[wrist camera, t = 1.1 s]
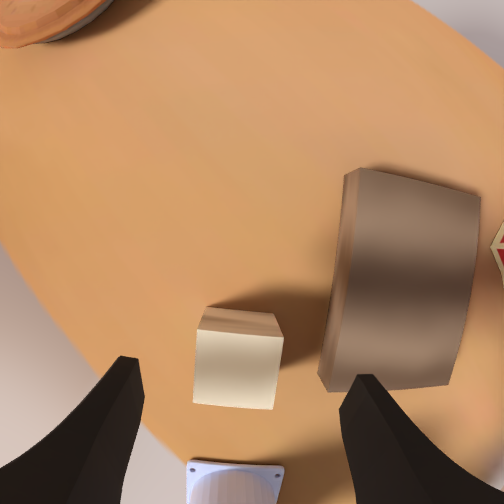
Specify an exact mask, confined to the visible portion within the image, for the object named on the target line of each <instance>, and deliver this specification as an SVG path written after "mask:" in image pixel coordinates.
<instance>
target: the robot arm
mask: <svg viewBox="0 0 504 504" xmlns="http://www.w3.org/2000/svg"><path fill="white" fill-rule="evenodd" d="M144 398H145V395H144V390H143V384H142V379H141V373H140V367H139V360H138V359H137V358H131V357H125V356H120V357H118V358H117V359H116V361H115V362H114V363H113V365H112V366H111V367H110V368H109V370H108V371H107V372H106V373H105V375H104V376H103V377H102V378H101V380H100V381H99V382H98V383H97V384H96V386H95V387H94V388H93V389H92V390H91V391H90V392H89V394H88V395H87V396H86V397H85V398H84V399H83V400H82V402H81V403H80V404H79V405H78V406H77V407H76V408H75V409H74V410H73V411H72V412H71V413H70V414H69V415H68V416H67V417H66V418H65V419H64V420H63V421H62V422H61V423H60V424H59V425H58V426H57V427H56V428H55V429H54V430H53V431H51V432H50V433H49V434H48V435H47V436H46V437H44V438H43V439H42V440H41V441H39V442H38V443H37V444H36V445H34V446H33V447H32V448H30V449H29V450H28V451H26V452H25V453H24V454H22V455H21V456H19V457H18V458H16V459H14V460H13V461H11V462H10V463H8V464H6V465H5V466H3V467H1V468H0V504H120V500H121V493H122V486H123V481H124V476H125V473H126V470H127V466H128V462H129V459H130V456H131V452H132V449H133V445H134V442H135V439H136V435H137V432H138V428H139V425H140V421H141V415H142V410H143V404H144ZM339 414H340V424H341V432H342V438H343V442H344V446H345V450H346V454H347V458H348V462H349V467H350V471H351V475H352V479H353V483H354V488H355V494H356V503H357V504H504V492H502V491H500V490H498V489H496V488H494V487H492V486H490V485H488V484H486V483H485V482H483V481H481V480H479V479H478V478H476V477H475V476H473V475H471V474H470V473H468V472H467V471H466V470H464V469H463V468H462V467H460V466H459V465H457V464H456V463H455V462H454V461H452V460H451V459H450V458H449V457H448V456H446V455H445V454H444V453H443V452H442V451H441V450H440V449H438V448H437V447H436V446H435V445H434V444H433V443H432V442H431V441H430V440H429V439H428V438H427V437H426V436H425V435H424V434H423V433H422V432H421V431H420V429H419V428H418V427H417V426H416V425H415V424H414V423H413V422H412V421H411V419H410V418H409V417H408V416H407V415H406V414H405V412H404V411H403V410H402V409H401V408H400V406H399V405H398V404H397V403H396V402H395V400H394V399H393V398H392V397H391V395H390V394H389V393H388V392H387V390H386V389H385V388H384V387H383V385H382V384H381V383H380V382H379V381H378V379H377V378H376V377H375V376H374V375H373V374H357V376H356V378H355V380H354V382H353V384H352V385H351V387H350V389H349V391H348V393H347V395H346V397H345V399H344V401H343V403H342V405H341V406H340V408H339ZM191 468H194V469H191ZM284 472H285V471H284V467H283V466H274V465H245V464H230V463H218V462H208V461H200V460H189V461H188V462H187V504H276V503H277V499H278V495H279V491H280V488H281V484H282V480H283V476H284ZM276 474H279V475H276Z"/></svg>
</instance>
